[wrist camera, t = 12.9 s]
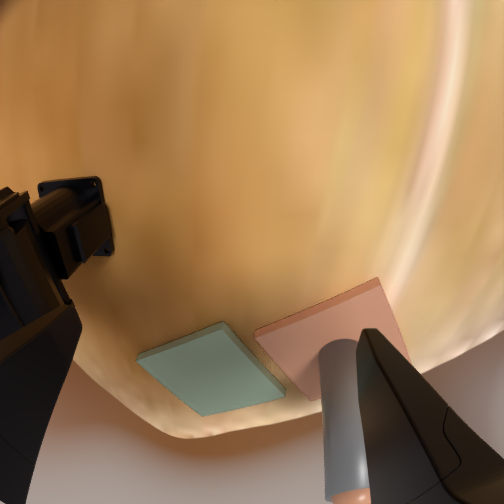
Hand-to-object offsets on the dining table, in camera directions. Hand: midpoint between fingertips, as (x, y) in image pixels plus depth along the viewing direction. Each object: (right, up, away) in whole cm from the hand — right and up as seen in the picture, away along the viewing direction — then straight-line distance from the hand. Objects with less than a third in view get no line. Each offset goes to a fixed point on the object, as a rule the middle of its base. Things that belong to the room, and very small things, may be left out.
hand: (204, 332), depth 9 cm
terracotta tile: (+9, -6, +18) cm, 21 cm away
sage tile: (-3, -10, +21) cm, 23 cm away
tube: (+9, -7, +17) cm, 20 cm away
